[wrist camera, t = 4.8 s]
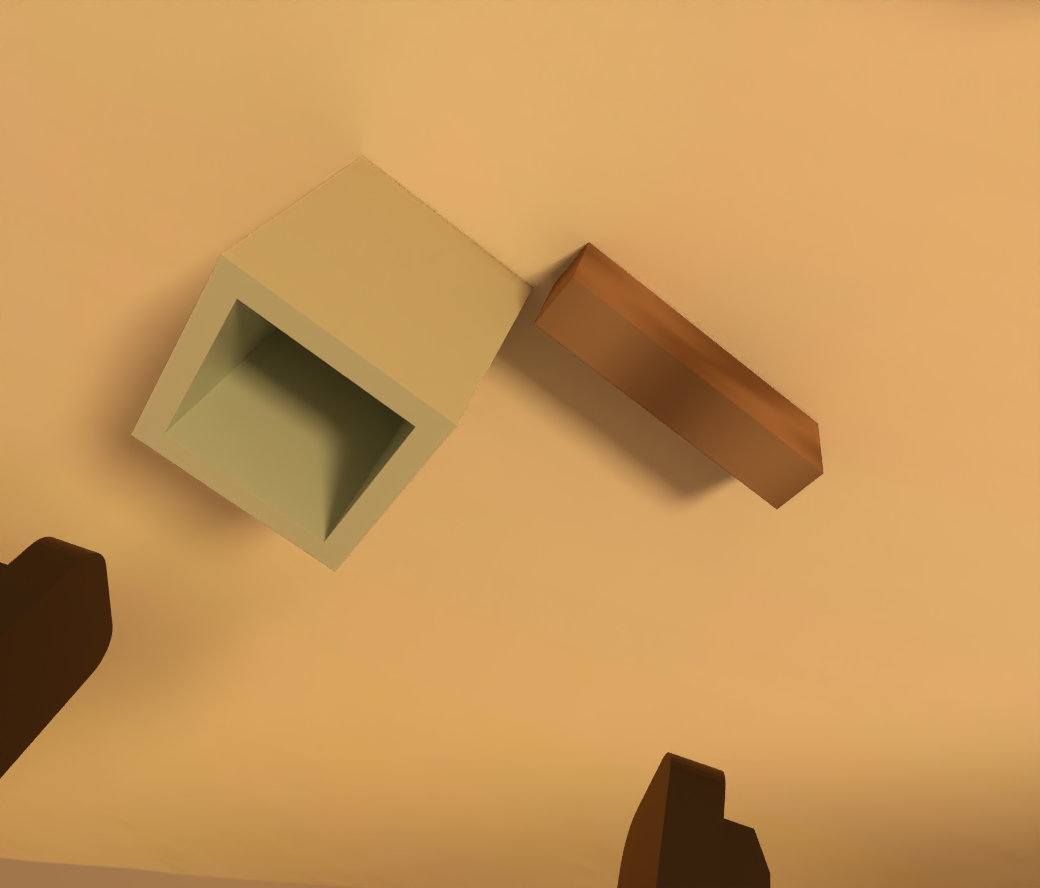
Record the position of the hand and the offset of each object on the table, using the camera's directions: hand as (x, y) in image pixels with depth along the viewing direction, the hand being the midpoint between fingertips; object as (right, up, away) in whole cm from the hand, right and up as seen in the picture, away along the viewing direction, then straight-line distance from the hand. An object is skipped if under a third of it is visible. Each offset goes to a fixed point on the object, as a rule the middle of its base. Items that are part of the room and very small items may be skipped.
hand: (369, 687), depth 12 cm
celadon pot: (-2, +9, +19) cm, 21 cm away
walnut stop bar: (+8, +6, +17) cm, 20 cm away
